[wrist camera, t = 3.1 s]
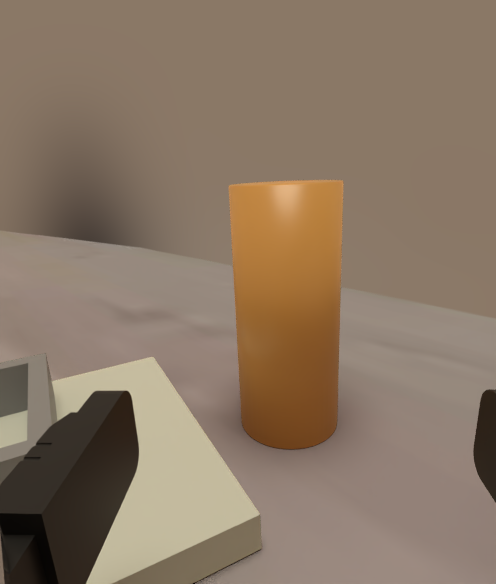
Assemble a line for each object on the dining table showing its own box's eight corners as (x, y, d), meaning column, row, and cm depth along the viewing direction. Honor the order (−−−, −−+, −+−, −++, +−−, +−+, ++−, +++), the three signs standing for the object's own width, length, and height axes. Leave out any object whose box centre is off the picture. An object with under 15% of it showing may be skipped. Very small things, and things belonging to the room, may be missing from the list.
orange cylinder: (301, 384, 25) (300, 179, 21) (357, 427, 20) (368, 180, 17) (226, 408, 22) (211, 185, 19) (272, 462, 18) (263, 188, 15)
